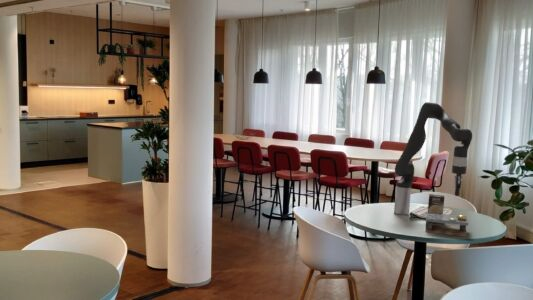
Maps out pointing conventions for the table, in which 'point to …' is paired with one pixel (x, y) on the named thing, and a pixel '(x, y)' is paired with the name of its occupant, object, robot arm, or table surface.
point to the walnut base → (446, 229)
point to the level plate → (447, 218)
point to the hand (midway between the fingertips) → (456, 195)
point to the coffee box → (436, 204)
